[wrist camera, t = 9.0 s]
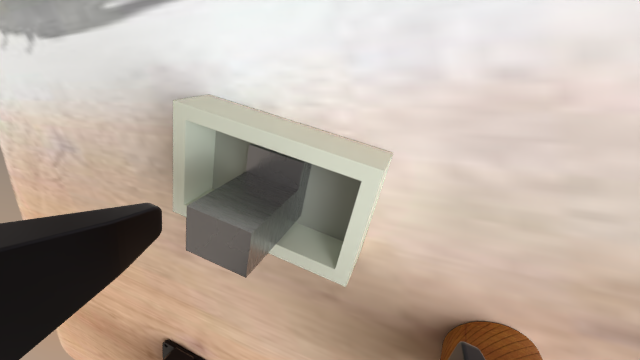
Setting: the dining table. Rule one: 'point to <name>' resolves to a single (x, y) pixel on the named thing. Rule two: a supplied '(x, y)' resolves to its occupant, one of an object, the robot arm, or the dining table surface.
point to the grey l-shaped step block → (248, 211)
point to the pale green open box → (296, 141)
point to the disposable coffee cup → (491, 342)
